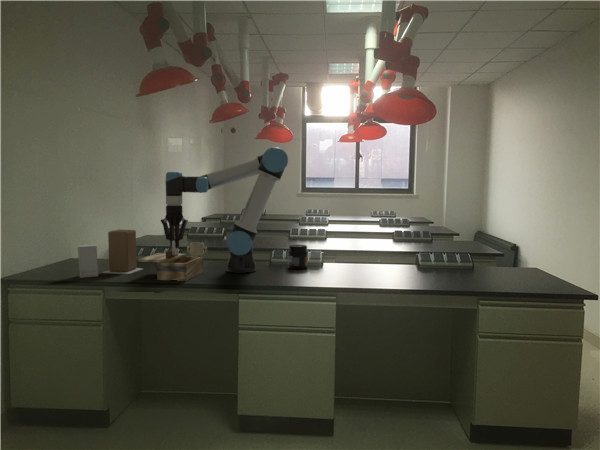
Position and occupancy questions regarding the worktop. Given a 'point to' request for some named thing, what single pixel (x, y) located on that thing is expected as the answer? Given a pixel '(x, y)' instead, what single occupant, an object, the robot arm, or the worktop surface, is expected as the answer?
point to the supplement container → (297, 257)
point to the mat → (124, 272)
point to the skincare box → (88, 260)
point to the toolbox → (180, 269)
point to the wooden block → (122, 250)
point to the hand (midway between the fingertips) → (174, 254)
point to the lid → (162, 257)
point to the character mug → (196, 249)
